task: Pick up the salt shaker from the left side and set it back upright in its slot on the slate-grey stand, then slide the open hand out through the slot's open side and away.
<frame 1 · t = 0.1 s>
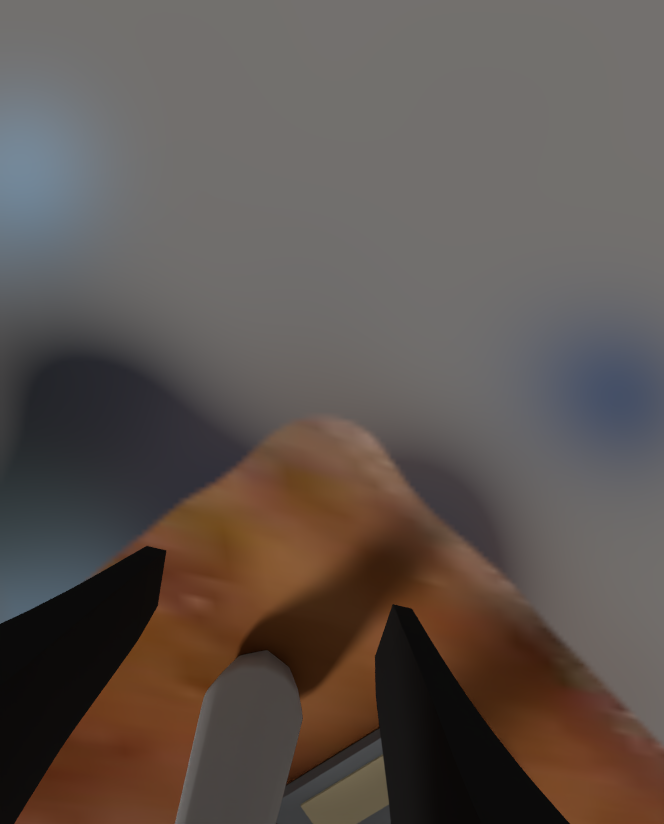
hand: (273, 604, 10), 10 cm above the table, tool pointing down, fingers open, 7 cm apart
salt shaker: (260, 677, 21), on the table
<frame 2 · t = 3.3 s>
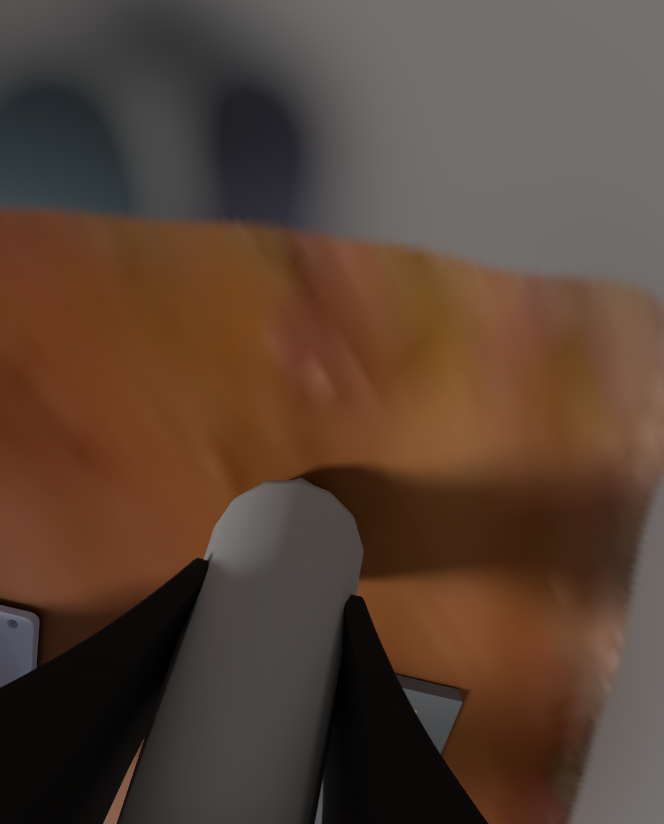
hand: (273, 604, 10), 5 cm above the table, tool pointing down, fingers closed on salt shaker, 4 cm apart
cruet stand: (285, 786, 18), on the table
salt shaker: (296, 518, 15), on the table, touching gripper
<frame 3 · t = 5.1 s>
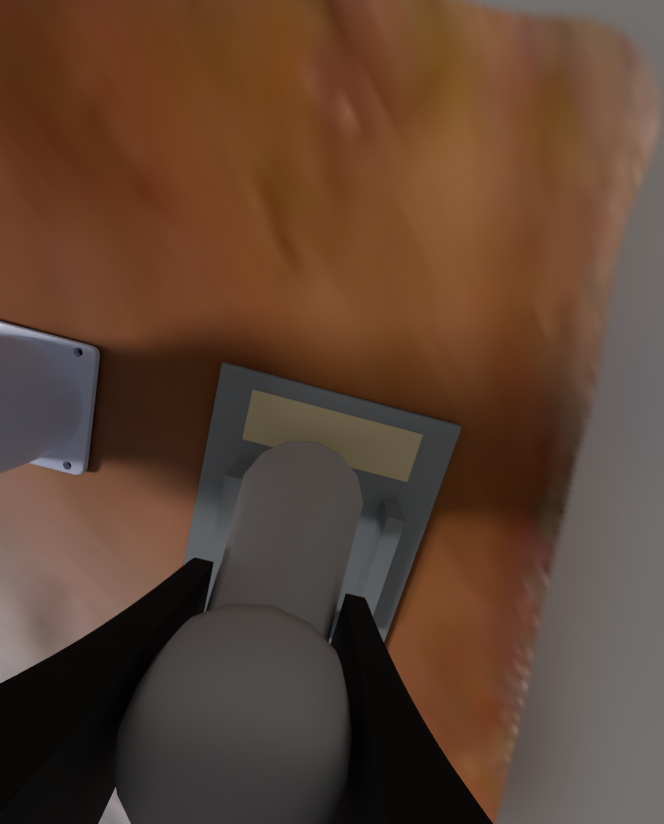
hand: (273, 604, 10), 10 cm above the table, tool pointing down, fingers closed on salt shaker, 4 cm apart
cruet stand: (306, 528, 21), on the table
salt shaker: (306, 478, 18), point 2 cm above the table, touching gripper
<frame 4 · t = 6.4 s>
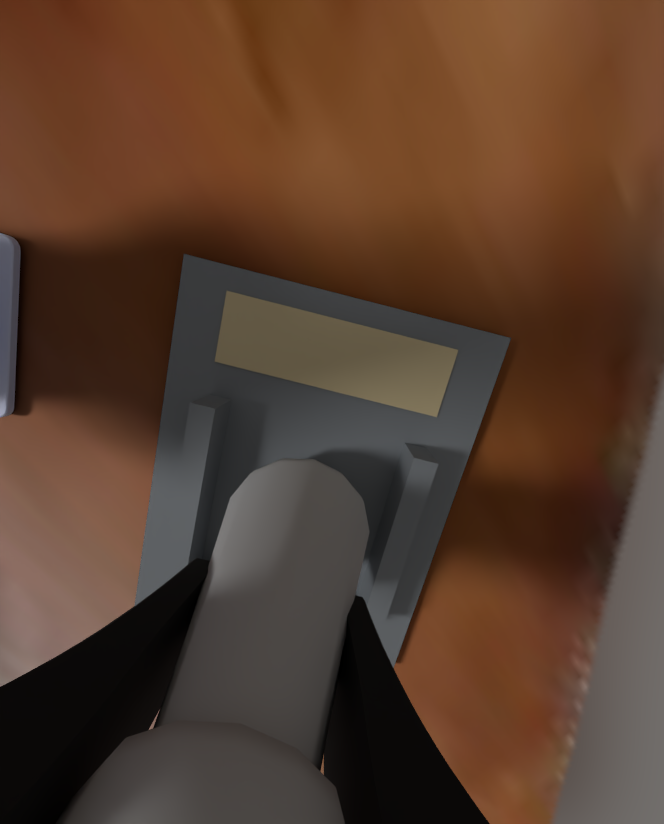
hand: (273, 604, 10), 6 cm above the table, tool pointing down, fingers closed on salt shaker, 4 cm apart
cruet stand: (302, 485, 16), on the table
salt shaker: (304, 498, 16), resting on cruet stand, touching gripper
when the fingers open (6 cm above the table, at t = 6.9 s): salt shaker stays where it is, resting on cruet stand.
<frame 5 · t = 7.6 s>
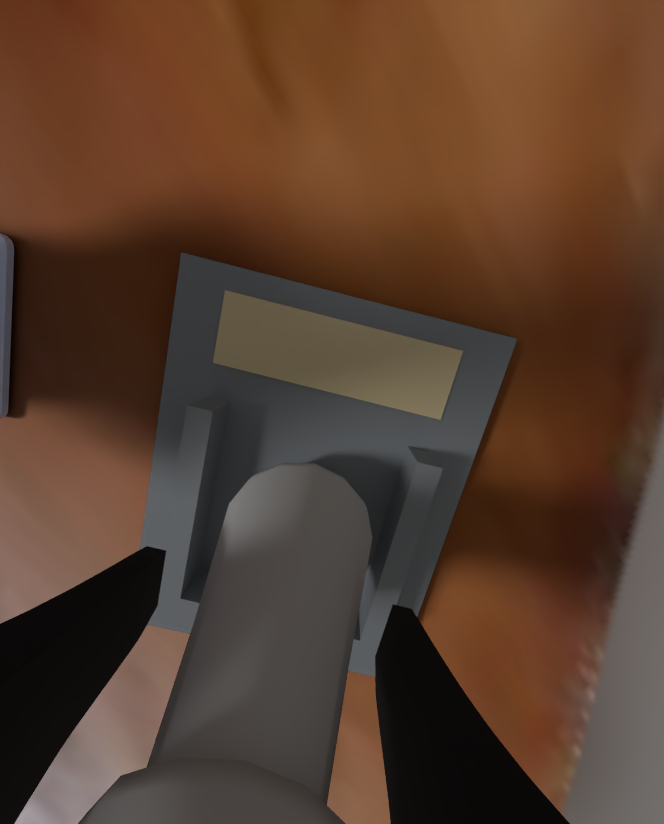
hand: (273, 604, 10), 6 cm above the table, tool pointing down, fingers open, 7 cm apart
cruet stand: (303, 489, 16), on the table
salt shaker: (304, 502, 16), resting on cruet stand
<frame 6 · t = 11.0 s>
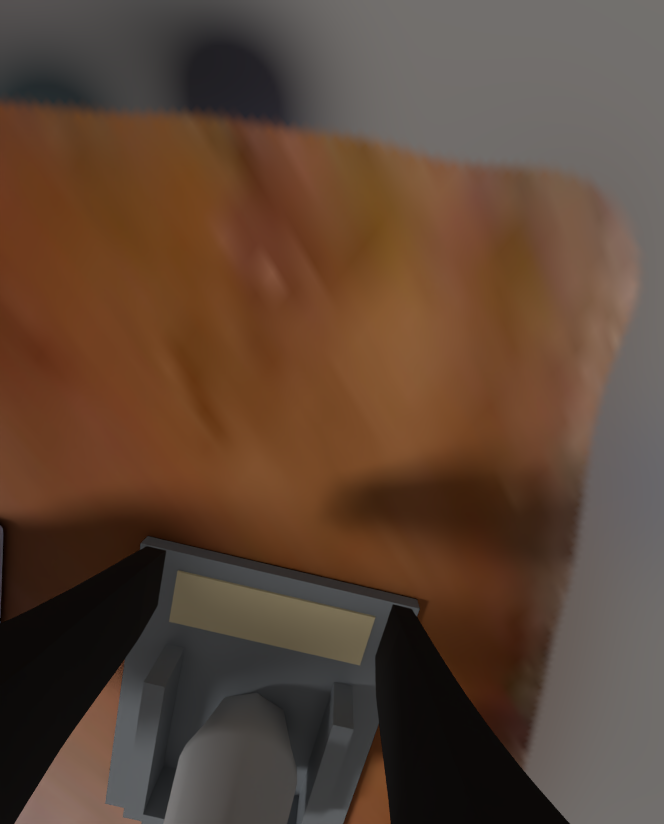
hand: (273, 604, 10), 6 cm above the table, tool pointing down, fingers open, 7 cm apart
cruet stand: (250, 703, 19), on the table
salt shaker: (250, 718, 18), resting on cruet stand
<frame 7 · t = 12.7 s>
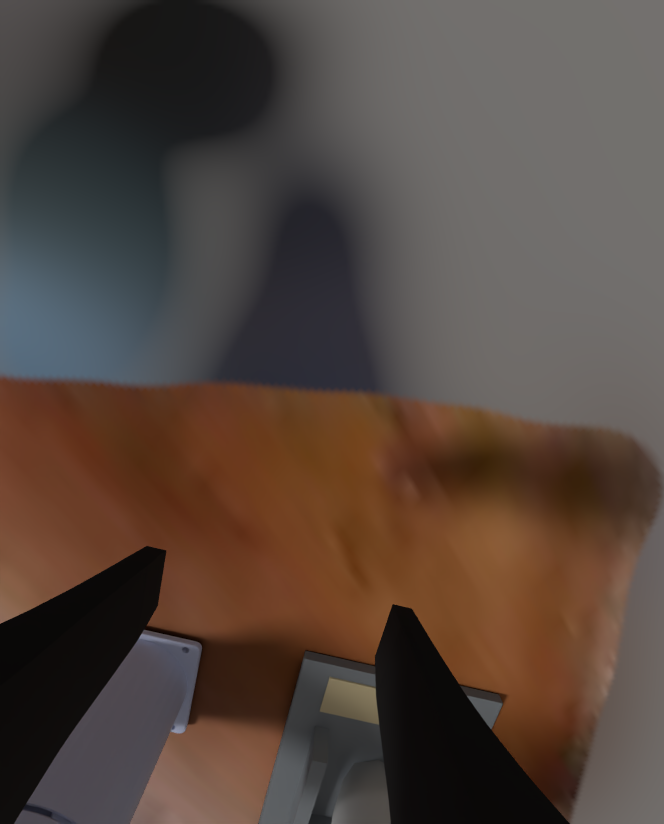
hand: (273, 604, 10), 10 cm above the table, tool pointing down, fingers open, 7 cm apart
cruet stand: (369, 765, 25), on the table
salt shaker: (371, 777, 25), resting on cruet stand
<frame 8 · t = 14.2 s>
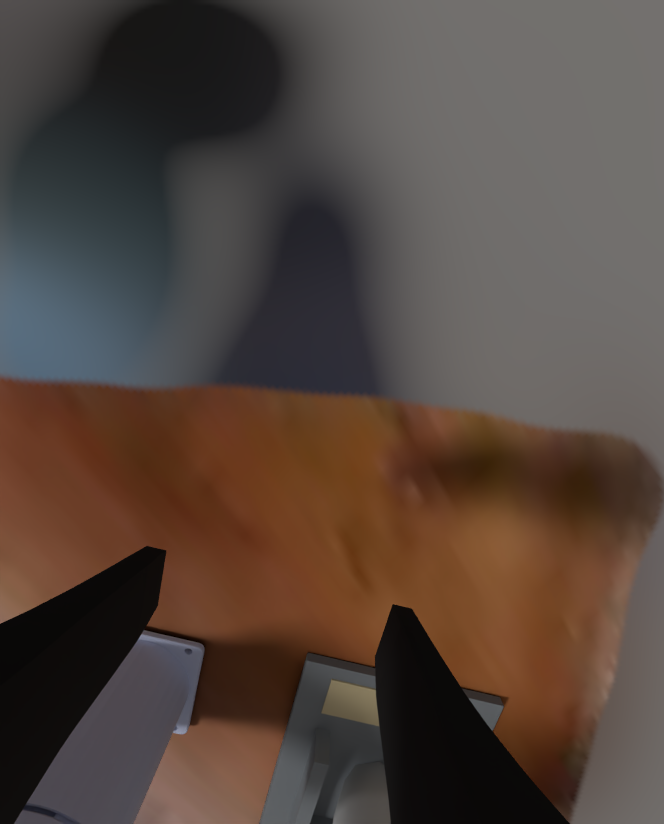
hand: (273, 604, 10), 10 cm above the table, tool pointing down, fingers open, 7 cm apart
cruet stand: (370, 767, 25), on the table
salt shaker: (372, 778, 25), resting on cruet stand
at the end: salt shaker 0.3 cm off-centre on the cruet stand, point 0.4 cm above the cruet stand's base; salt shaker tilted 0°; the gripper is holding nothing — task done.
